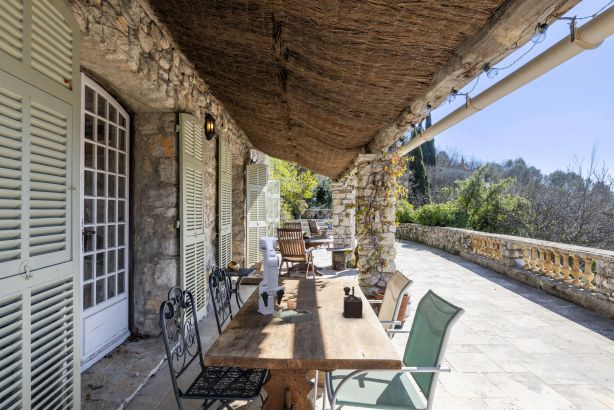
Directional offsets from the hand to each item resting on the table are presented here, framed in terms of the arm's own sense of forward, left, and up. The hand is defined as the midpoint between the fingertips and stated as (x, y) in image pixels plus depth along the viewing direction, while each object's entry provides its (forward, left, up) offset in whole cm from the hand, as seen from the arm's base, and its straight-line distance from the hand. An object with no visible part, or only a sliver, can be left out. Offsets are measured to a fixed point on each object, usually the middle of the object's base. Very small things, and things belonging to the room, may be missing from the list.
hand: (272, 305), depth 186 cm
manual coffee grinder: (+13, +44, -10) cm, 47 cm away
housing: (-3, +15, -10) cm, 18 cm away
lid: (+1, +7, -6) cm, 9 cm away
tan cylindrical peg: (-7, +15, -9) cm, 19 cm away
